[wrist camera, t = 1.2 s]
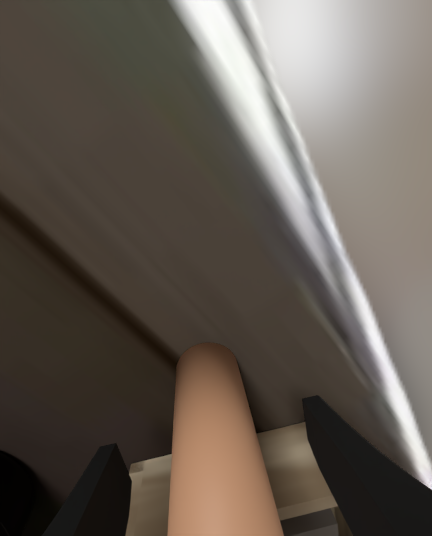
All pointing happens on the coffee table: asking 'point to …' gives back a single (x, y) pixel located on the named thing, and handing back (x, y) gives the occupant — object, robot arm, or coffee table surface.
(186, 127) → the coffee table surface
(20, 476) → the supplement bottle
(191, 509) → the peg
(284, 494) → the box
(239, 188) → the coffee table surface
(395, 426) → the coffee table surface
